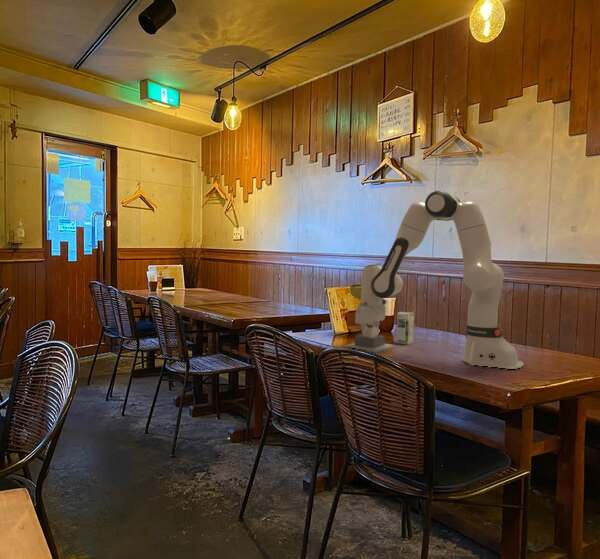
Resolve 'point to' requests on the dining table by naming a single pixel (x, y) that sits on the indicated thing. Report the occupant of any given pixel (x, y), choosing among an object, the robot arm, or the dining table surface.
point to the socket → (370, 343)
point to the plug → (371, 331)
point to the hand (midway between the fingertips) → (370, 332)
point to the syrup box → (405, 327)
